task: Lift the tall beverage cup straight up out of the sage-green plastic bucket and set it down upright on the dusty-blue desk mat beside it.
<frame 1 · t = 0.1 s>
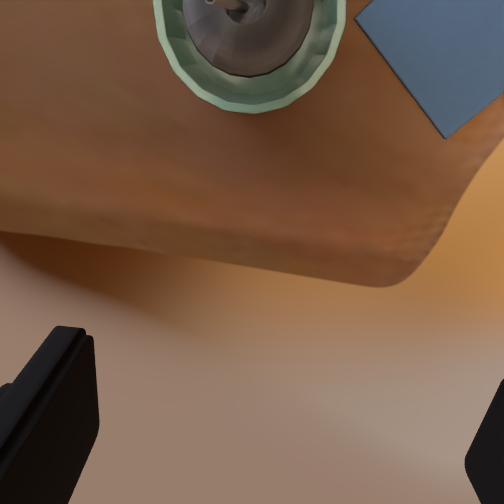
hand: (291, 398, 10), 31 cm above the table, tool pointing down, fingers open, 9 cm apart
beverage cup: (252, 21, 34), resting on bucket
bucket: (252, 21, 34), on the table
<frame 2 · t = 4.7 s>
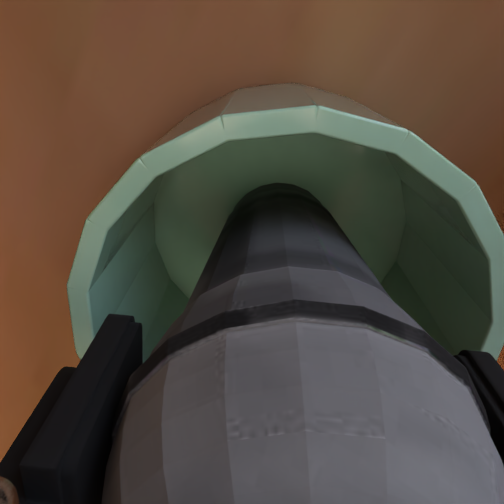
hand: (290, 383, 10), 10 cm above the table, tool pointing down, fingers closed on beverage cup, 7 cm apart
beverage cup: (278, 230, 19), resting on bucket, touching gripper
bucket: (277, 228, 19), on the table
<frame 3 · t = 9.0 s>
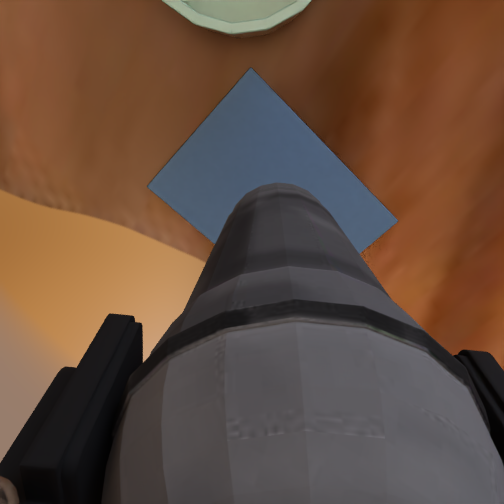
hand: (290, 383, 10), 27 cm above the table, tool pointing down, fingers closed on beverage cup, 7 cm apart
beverage cup: (277, 230, 19), point 18 cm above the table, touching gripper
desk mat: (273, 202, 37), on the table
when the fingers open (10 cm above the table, at t = 13.6 s): beverage cup stays where it is, resting on desk mat.
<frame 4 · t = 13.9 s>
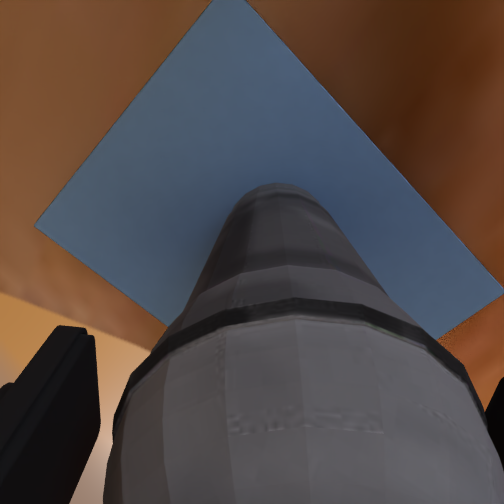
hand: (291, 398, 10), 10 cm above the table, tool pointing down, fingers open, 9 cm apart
beverage cup: (277, 229, 19), resting on desk mat
desk mat: (275, 255, 20), on the table
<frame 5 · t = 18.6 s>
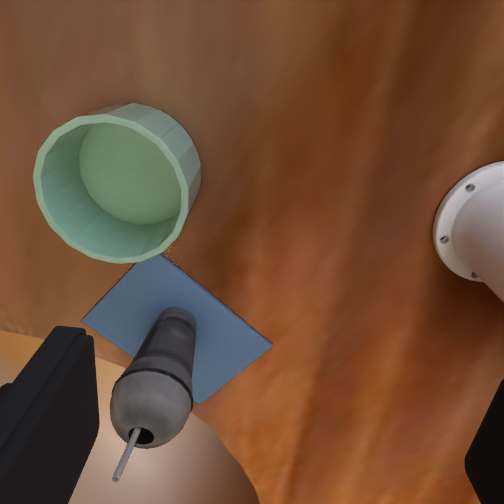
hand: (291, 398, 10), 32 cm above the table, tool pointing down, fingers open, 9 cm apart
beverage cup: (177, 322, 48), resting on desk mat
desk mat: (178, 331, 49), on the table
bucket: (138, 169, 40), on the table
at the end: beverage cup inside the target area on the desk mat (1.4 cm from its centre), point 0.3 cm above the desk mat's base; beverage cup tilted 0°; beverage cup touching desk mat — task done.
